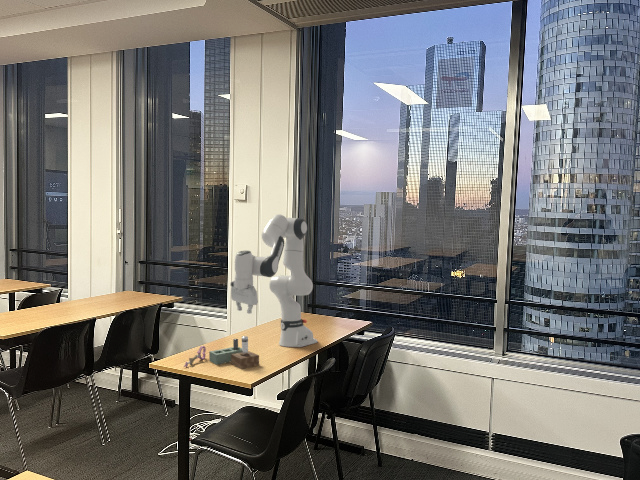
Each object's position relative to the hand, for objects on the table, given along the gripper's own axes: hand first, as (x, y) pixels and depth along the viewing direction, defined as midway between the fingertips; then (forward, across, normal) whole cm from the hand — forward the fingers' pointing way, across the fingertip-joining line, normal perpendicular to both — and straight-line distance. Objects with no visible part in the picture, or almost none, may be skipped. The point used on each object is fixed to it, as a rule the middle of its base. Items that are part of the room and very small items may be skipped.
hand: (244, 311), depth 268 cm
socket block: (+26, 0, 0) cm, 27 cm away
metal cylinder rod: (+26, 0, 0) cm, 27 cm away
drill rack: (+26, +13, +3) cm, 30 cm away
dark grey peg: (+26, +13, -2) cm, 30 cm away
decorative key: (+27, +19, +18) cm, 38 cm away
